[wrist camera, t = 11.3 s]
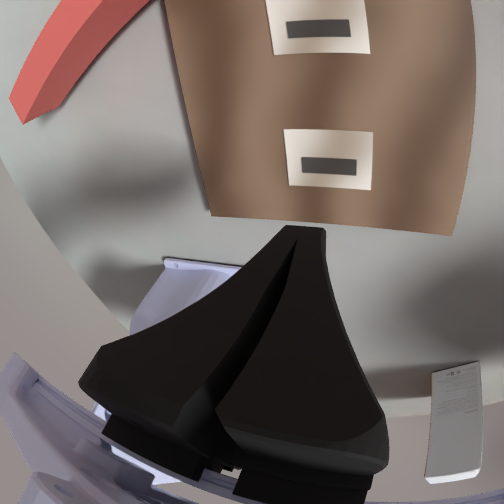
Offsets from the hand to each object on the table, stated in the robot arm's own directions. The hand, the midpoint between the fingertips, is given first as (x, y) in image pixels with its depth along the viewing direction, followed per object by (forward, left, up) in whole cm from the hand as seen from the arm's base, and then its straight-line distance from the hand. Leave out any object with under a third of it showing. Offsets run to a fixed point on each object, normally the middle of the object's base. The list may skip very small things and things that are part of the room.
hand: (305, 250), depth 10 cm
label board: (0, +7, -9) cm, 12 cm away
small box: (+18, -26, -10) cm, 33 cm away
